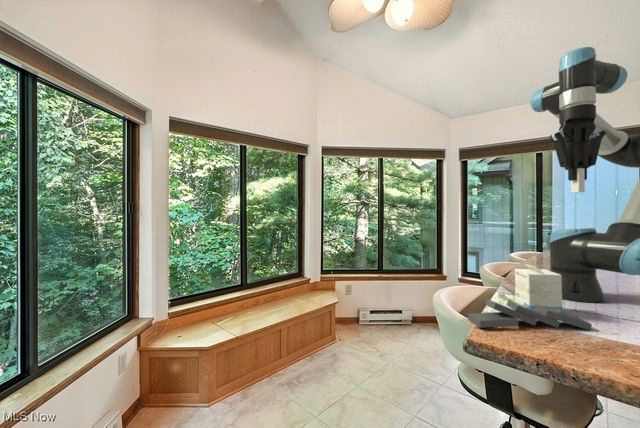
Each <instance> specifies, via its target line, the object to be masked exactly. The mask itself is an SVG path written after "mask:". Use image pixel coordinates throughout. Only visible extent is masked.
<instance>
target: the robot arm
mask: <svg viewBox="0 0 640 428" xmlns="http://www.w3.org/2000/svg"><path fill="white" fill-rule="evenodd" d="M596 58H597V53H596V49H595V48H594V47H592V46H584V47H579V48H576V49H573V50H570V51H569V52H566V53H565V54H564V55H562V56H561V58H560V59H559V61H558V63H559V64H558V71H557V73H558V81H557V82H554V83H552V84H549V85H546V86H544V87H542V88H540V89H538V90H536V91H534V92H533V93H532V94H531V96H530V99H529V103H530V107H531V109H532V110H533V111H534V113H535V112H536V113H542V112H546V111H548V112H549V113H551V114H552V115H553V116H554V117H556V118H557V119H558V120H559V121H558V123H559V125H560V126H559V129H558V131H557V132H555V133H553V134H551V135H549V138H550V140H551V141H552V143H553V145H554V149H555V153H556V156H557V160H558V164H559V166H560V168H564V169H565V170H566V171H567V180H568V181H569V182H570V193H571V194H572V193H573V194H577V193H585V192H586V191H585V186H586V185H585V182H586V181H587V180H588V168H591V167H592V166H595V165H596V164H597V160H598V157H600V158H601V159H603V160H605V161H607V162H609V163H611V164H615V165H617V166H621V167H625V168H633V169H634V168H635V169H636V168H637V169H638V168H640V134H639V133H638V134H628V133H627V132H625V131H622V130H617V129H616V128H614V127H613V125H611V124H610V123H609V122H608V121H606V120H605V119H604V118H603V117H602V116H600V115H599V114H598V113H597V105H596V103H597V94H600V95H601V94H602V95H603V94H604V95H605V94H612V93H614V92H616V91H618V90H619V89H620V88H622V86H624V84H625V83H626V82H627V79H628V70H627V69H626V68H625V67H623V66H622V65H618V64H617V63H610V62H606V61H605V62H604V61H601V60H599V59H596ZM634 187H635V188H634V189H633V192H632V193H631V196H630V197H629V200H628V202H627V204H626V206H625V208H624V210H623V211H622V214H621V216H620V218H619V220H618V221H616V222H613V223H611V224H610V225H609V226H608V228H607V229H606V232H597V230H596V228H594V227H590V228H589V227H588V228H571V229H570V228H569V229H557V230H554V231H552V232H551V233H550V237H549V238H550V239H549V254H550V255H549V257H550V258H549V259H550V261H549V262H550V268H549V269H550V270H549V271H551V272H554V273H557V274H560V275H561V281H562V300H568V301H573V302H574V301H575V302H580V303H581V302H583V303H602V302H604V300H605V299H604V298H605V295H604V294H605V293H604V291H603V289H602V286H601V284H600V282H599V279H598V278H597V277H598V276H597V270H601V271H607V272H612V273H618V274H619V273H620V274H625V275H629V276H640V178H639V179H638V181H637V183H636V184H635V186H634Z"/></svg>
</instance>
